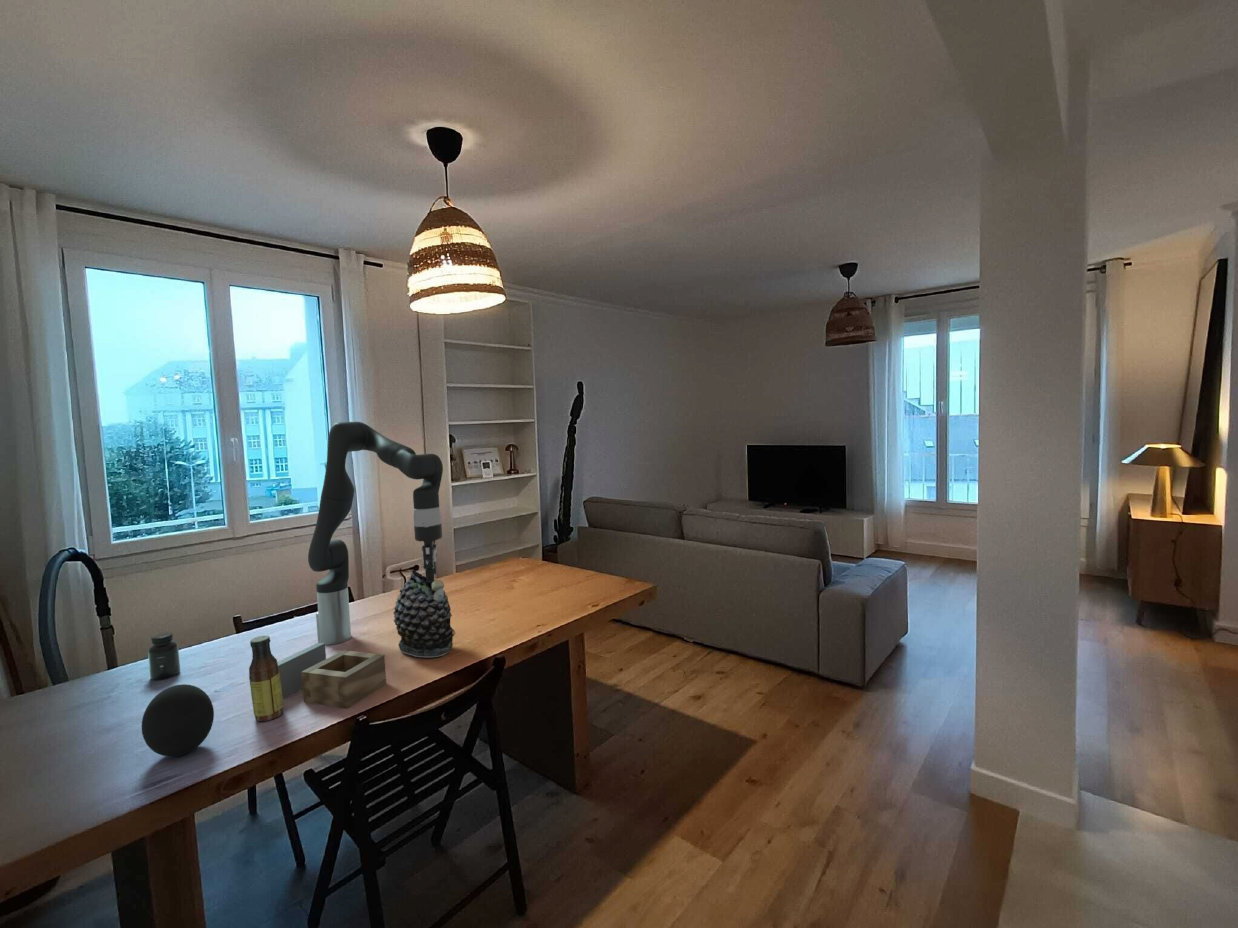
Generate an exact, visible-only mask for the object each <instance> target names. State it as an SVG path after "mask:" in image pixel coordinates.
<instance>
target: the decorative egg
mask: <svg viewBox="0 0 1238 928" xmlns="http://www.w3.org/2000/svg"><path fill="white" fill-rule="evenodd" d="M214 718H215V710H214V705H213V702H212V700H211V698H210V696H209V695H208V694H207V693H206V692H205V691H204V690H203V689H202V688H200V687H198V686H195V685H191V684H186V683H185V684H175V685H172V686H170V687H168V688H165V689H164V690H162V691H160V692H159V693H157V694H156V695H155V696H154V697H153V698H152V700H150V702H149V703H148V704H147V707H146V708H145V711H144V713H143V715H142V719H141V734H142V737H143V740H144V742H145V744H146V746H147V747H148V748H149V749H150V750H151V751H152V752H154V753H156V754H158V755H160V756H163V757H170V758H171V757H172V758H173V757H179V756H180V757H181V756H184V755H186V754H188V753H191V752H193V751H194V750H195V749H197V748H198V747H199V746H200V745H201V744H202V743H203V742H204V741H205V740H206V739H207V737H208V735H209V734H210V732H211V730H212V727H213V723H214Z"/></svg>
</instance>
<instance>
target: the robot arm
mask: <svg viewBox="0 0 1238 928" xmlns="http://www.w3.org/2000/svg"><path fill="white" fill-rule="evenodd" d="M327 437H328V438H327V453H326V466H325V474H324V480H323V486H322V489H321V494H320V498H319V499H320V500H319V508H318V512H317V518H316V524H315V527H314V532H313V535H312V538H311V541H310V545H309V548H308V554H307V561H308V566H309V568H310V569H311V570H312V571H313V572H316V573H319V572H325V571H328V573H327V574H326V575H325V576H323V578H321V579H319V580H318V582H317V583H316V585H315V586H316V599H317V601H316V602H317V612H316V613H315V619H316V620H315V621H316V631H317V632H316V633H317V643H325V646H326V645H328V646H329V645H336V644H341V643H344V642H346V641H349V640H350V639H351V638H352V628H351V627H352V626H351V615H350V612H351V611H350V602H349V601H350V599H349V598H350V597H349V588H348V587H349V586H348V582H349V578H350V576H349V575H350V573H349V569H350V568H349V567H350V566H349V565H350V564H349V563H350V562H349V555H350V554H349V549H348V546H347V545H346V542H344V541H343V540H342V539H333V540H331V539H332V538H333V535H334V533H335V531H336V530H337V529H338V528H339V527H340V526H341V524H342V523H343V522H344V520H345V519H346V518H347V516H348V515H349V513H350V511H351V510H352V505H353V500H354V495H355V486H354V483H352V480H351V478H350V476H349V474H348V472H347V470H346V469H347V468H346V464H347V463H346V461H347V455H348V453H350V452H359V451H369V452H373V453H375V454H376V456H377V457H378V459H379V460H380V461H381V462H383V463H385V464H386V465H388V466H391V467H393V468H395V469H398V470H399V471H400V473H402V474H403V475H404V476H406V477H407V478H409V479H412V480H422V482H421V483H422V484H421V485H420V486H418V487H416V488H415V489H414V490H413V492H412V500H413V529H414V539H415V541H416V542H420V543H421V542H423V545H421V546H422V547H421V553H422V562H423V569H424V571H425V577H426V582H427V583H429V582H434V580H435V575H437V563H436V562H437V555H438V551H437V550H438V545H437V543H436V541H438V540H441V539H442V537H443V529H442V514H441V508H440V498H439V497H440V495H439V493H440V492H439V491H440V488H441V483H442V477H443V471H444V467H443V462H442V459H441V458H440V457H439V455H438V454H435V453H423V454H416V452H415V450H414V449H412V448H411V447H410V446H407V445H404V444H402V443H399V442H397V441H395V440H392V439H390V438H388V437H386V436H384V435H383V434H381V433H380V432H379V431H377V430H375V429H374V428H372V427H371V426H369V425H368V424H367V423H364V422H362V421H343V422H342V421H341V422H336V423H334V424H332V425H331V427H330V430H329V433H328V436H327Z"/></svg>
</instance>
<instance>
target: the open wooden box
mask: <svg viewBox="0 0 1238 928" xmlns="http://www.w3.org/2000/svg"><path fill="white" fill-rule="evenodd" d="M385 658H386V656H385V654H381V653H380V654H379V653H371V652H362V651H354V650H351V651H350V650H344V649H343V650H341V651H340V652H337V653H336V654H333V655H331V656H329V657H326V659H325V660H323V661H321V662H319V663H318V664H316V665H314V666H312V667H310V668H308V669H306V670H304V671H302V672H301V673H302V699H303V700H302V701H303V703H309V704H315V705H322V706H329V707H334V708H335V707H336V708H342V709H343V708H344V709H349V708H350V707H353V706H354V705H355V704H357V703H359V702H360V701H362V700H363V699H365V698H366V697H368V696H369V695H371V694H372V693H374V692H375V691H377V690H378V689H380V688H381V687H384V685H386V684H387V673H386V672H387V670H386V659H385Z"/></svg>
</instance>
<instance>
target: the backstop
mask: <svg viewBox="0 0 1238 928" xmlns="http://www.w3.org/2000/svg"><path fill="white" fill-rule="evenodd" d="M326 652H327V651H326V645H325V643H321V642H317V643H314V644H312V645H310V646H308V647H306V648H304V649H302V650H299V651H298V652H295V653H294V654H291V655H289V656H287V657H285V658H283V659H281V660H277V663H278V670H279V674H280V682H281V690H282V698H283V699H284V698H286V697H288V696H289V695H291V694H293V693H295V692H296V691H299V690H300V689H303V687H302V673H301V672H302V671H304V670H306V669H308V668H310V667H312V666H314V665H316V664H318V663H319V662H321V661H323V660H325V659H327V653H326Z"/></svg>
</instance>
